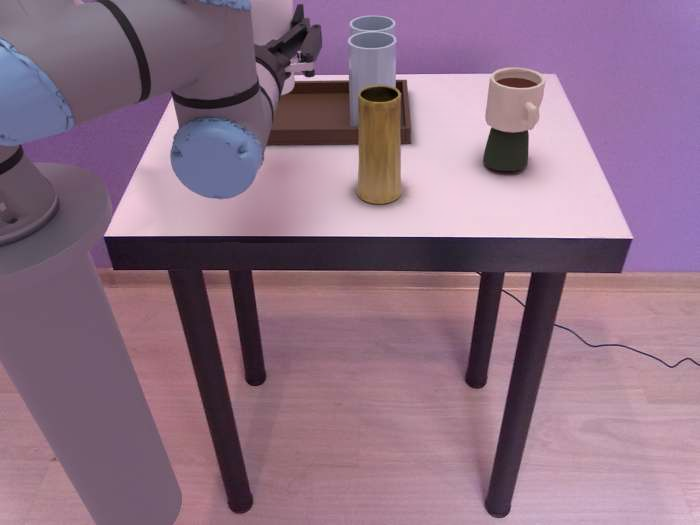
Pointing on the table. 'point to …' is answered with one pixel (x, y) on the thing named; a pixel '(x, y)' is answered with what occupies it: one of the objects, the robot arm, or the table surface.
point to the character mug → (512, 116)
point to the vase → (379, 144)
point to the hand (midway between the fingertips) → (274, 15)
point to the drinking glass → (272, 26)
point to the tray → (324, 115)
